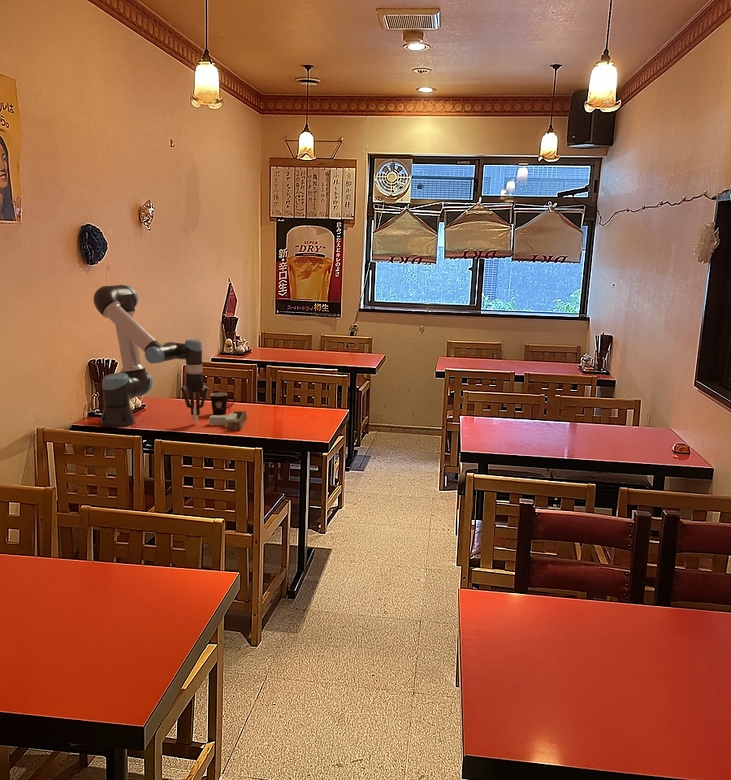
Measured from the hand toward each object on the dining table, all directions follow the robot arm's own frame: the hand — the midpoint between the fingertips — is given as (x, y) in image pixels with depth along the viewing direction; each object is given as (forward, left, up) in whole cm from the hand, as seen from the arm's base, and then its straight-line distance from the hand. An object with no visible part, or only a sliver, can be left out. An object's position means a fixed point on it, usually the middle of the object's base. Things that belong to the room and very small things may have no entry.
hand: (195, 421), depth 330 cm
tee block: (+13, 0, -1) cm, 13 cm away
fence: (+20, 0, -1) cm, 20 cm away
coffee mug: (+9, +22, -2) cm, 24 cm away
